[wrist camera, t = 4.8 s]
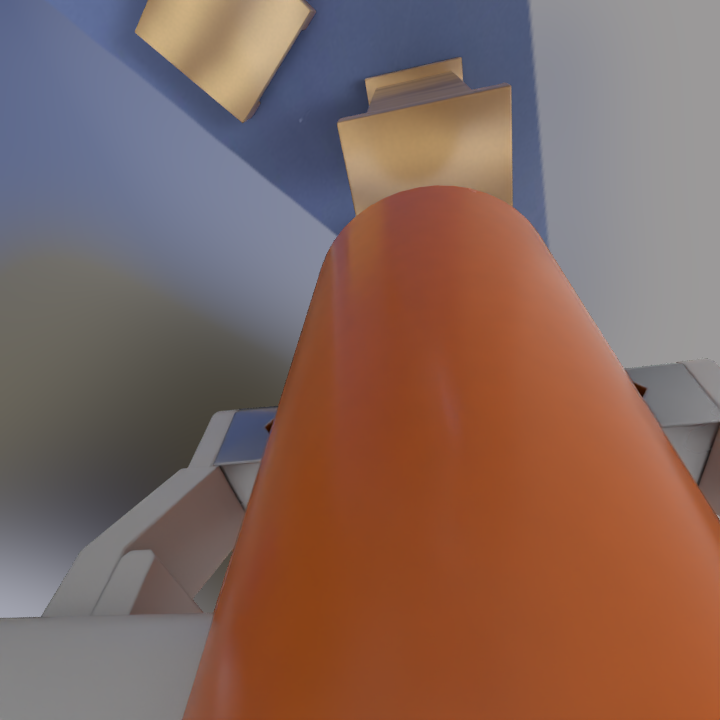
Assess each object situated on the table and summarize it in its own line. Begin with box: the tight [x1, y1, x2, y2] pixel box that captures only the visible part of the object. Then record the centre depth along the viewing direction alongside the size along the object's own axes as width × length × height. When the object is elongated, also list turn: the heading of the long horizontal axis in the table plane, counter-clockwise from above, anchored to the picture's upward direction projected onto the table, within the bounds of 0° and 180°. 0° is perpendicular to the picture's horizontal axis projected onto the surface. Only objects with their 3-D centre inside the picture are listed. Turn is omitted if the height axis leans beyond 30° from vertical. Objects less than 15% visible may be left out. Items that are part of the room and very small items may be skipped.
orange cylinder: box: [182, 185, 720, 720], centre depth 8 cm, size 7×7×12 cm
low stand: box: [135, 0, 316, 123], centre depth 37 cm, size 10×10×3 cm
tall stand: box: [337, 57, 513, 216], centre depth 32 cm, size 8×8×22 cm
